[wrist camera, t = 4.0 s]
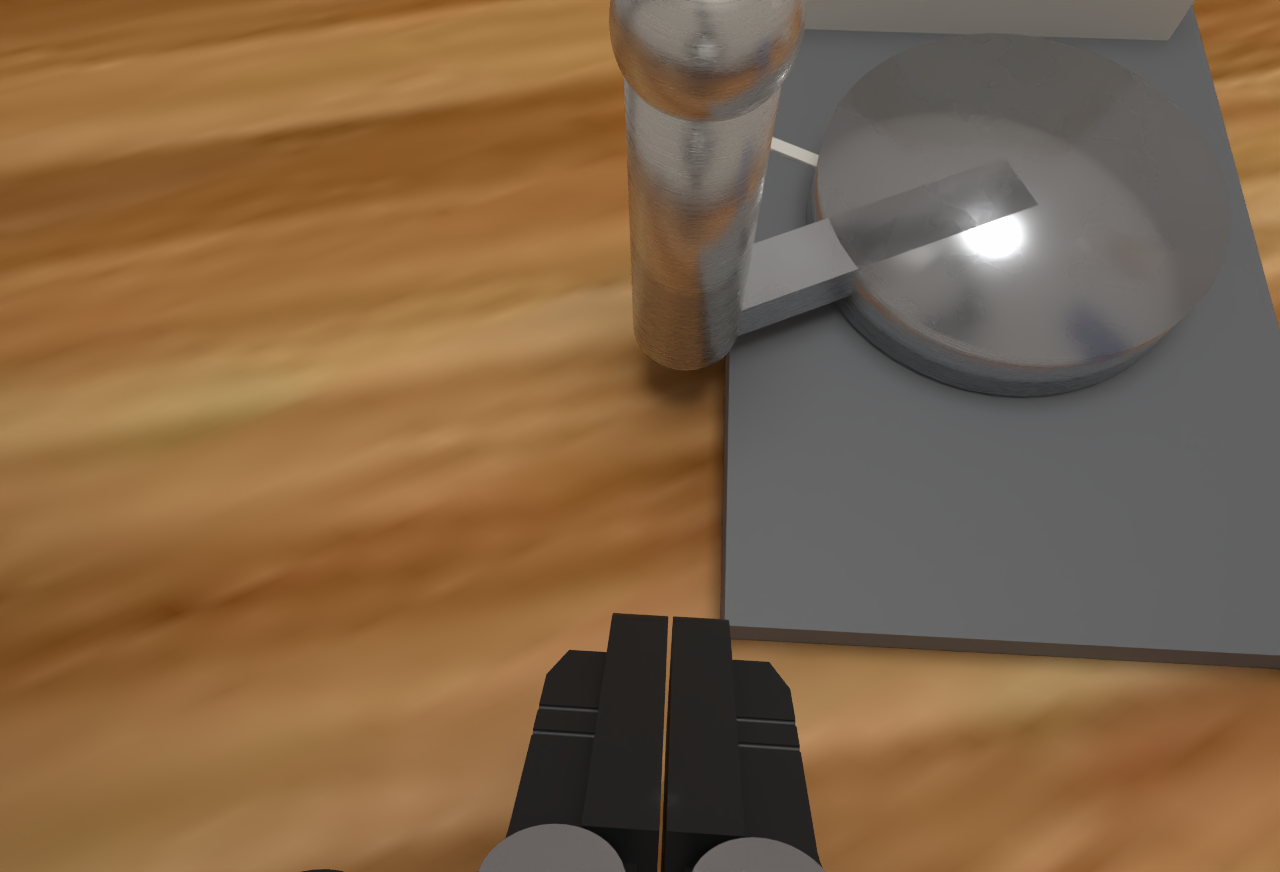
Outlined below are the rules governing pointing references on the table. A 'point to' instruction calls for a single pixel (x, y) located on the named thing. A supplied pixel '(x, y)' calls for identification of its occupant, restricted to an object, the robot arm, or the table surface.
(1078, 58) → the crank handle
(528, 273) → the table surface
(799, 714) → the table surface
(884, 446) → the stand
